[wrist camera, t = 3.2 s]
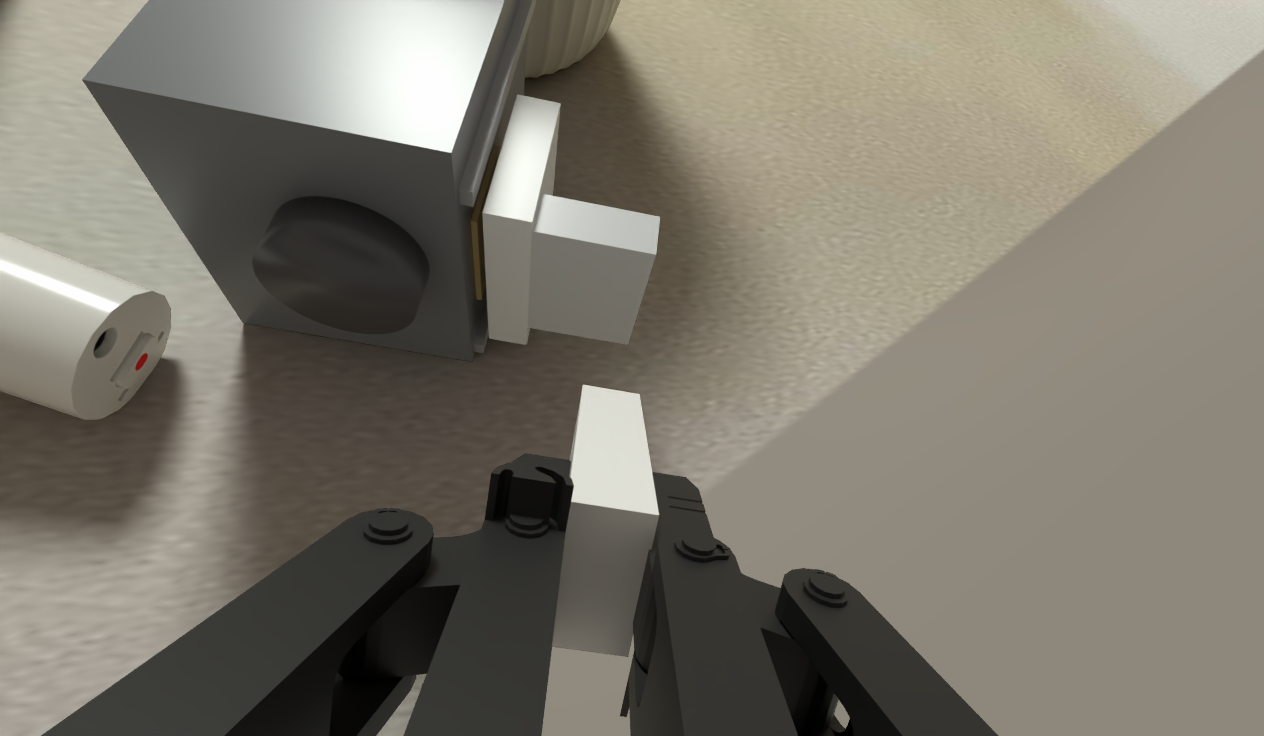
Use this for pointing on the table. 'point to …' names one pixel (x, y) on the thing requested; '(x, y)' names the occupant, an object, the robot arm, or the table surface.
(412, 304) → the camera case
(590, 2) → the canister
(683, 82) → the table surface
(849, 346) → the table surface
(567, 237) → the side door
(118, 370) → the spotlight
